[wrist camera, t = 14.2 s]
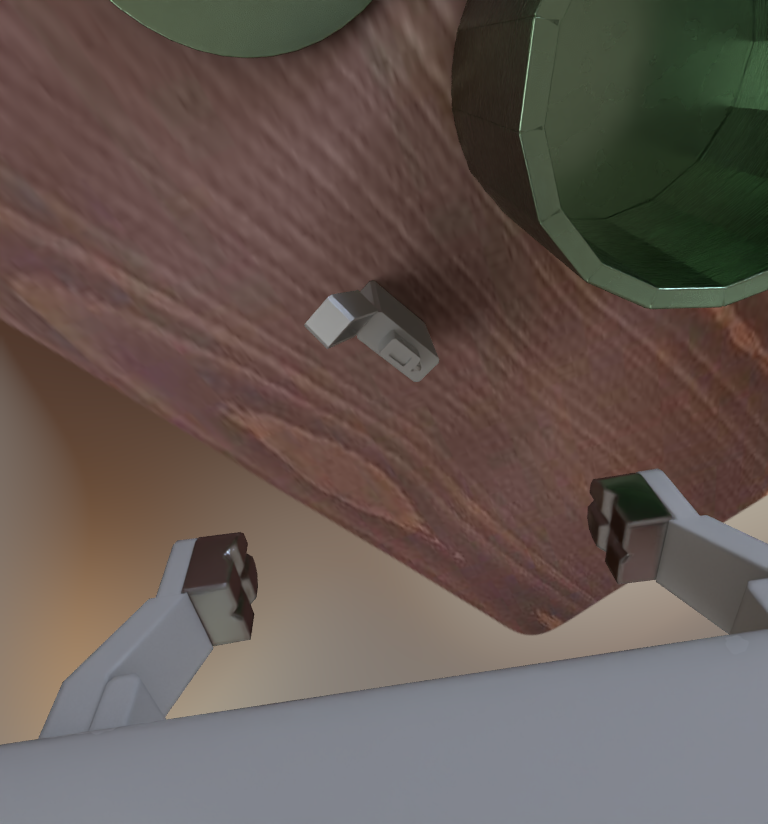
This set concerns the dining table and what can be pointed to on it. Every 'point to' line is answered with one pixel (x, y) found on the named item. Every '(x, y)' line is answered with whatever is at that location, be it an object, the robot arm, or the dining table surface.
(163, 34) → the tin lid
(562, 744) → the robot arm
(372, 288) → the lighter
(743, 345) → the dining table surface
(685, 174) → the tin
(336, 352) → the dining table surface
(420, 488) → the dining table surface
